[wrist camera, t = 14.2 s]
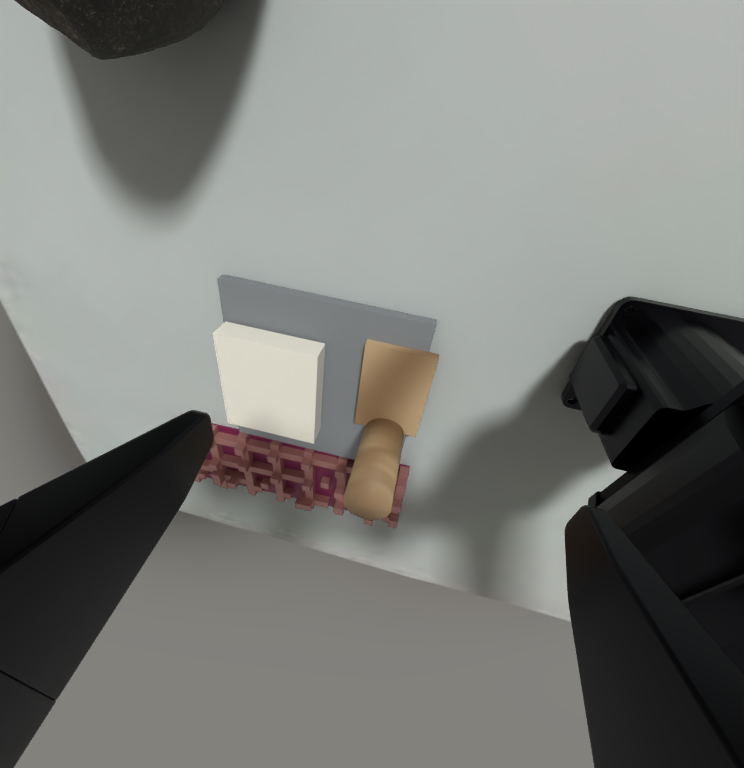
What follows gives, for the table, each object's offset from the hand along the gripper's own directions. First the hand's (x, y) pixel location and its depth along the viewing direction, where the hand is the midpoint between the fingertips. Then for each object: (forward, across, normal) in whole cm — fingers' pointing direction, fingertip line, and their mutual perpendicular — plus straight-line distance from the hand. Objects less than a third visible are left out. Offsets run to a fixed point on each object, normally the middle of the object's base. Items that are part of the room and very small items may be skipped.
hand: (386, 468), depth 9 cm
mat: (+12, +5, +8) cm, 15 cm away
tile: (+11, +5, +8) cm, 14 cm away
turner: (+11, 0, +8) cm, 14 cm away
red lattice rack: (+13, +7, +18) cm, 23 cm away
